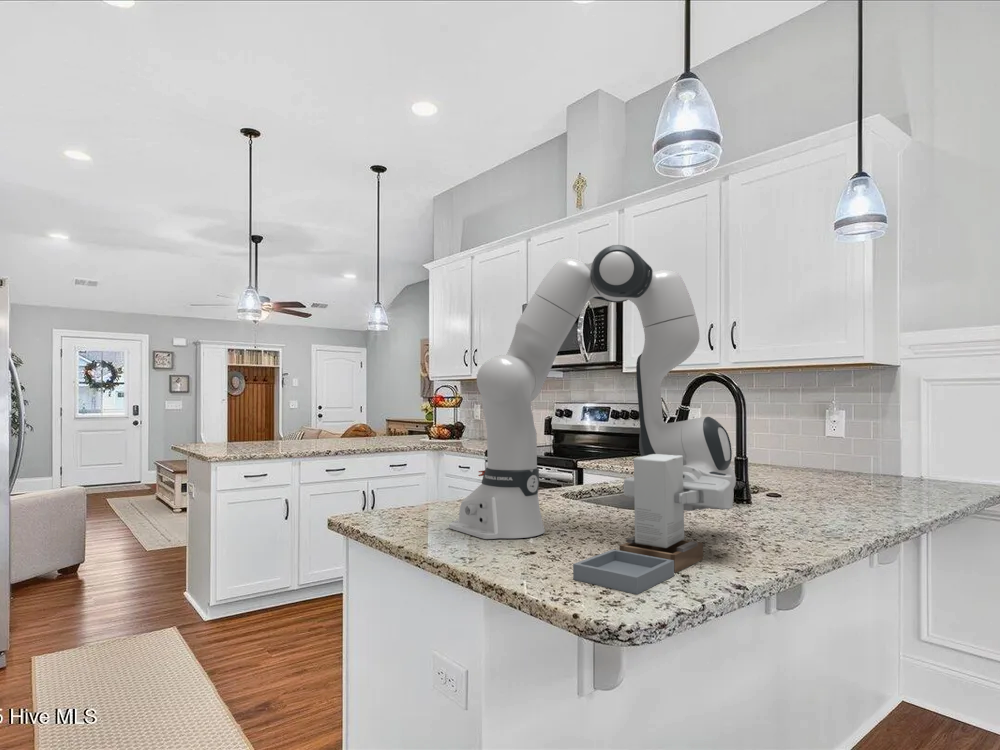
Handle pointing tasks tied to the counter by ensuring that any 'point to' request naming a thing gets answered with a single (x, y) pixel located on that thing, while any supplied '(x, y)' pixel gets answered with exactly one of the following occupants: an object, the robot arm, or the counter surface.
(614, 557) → the slate tray
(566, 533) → the counter surface
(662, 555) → the walnut caddy
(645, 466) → the skincare box
